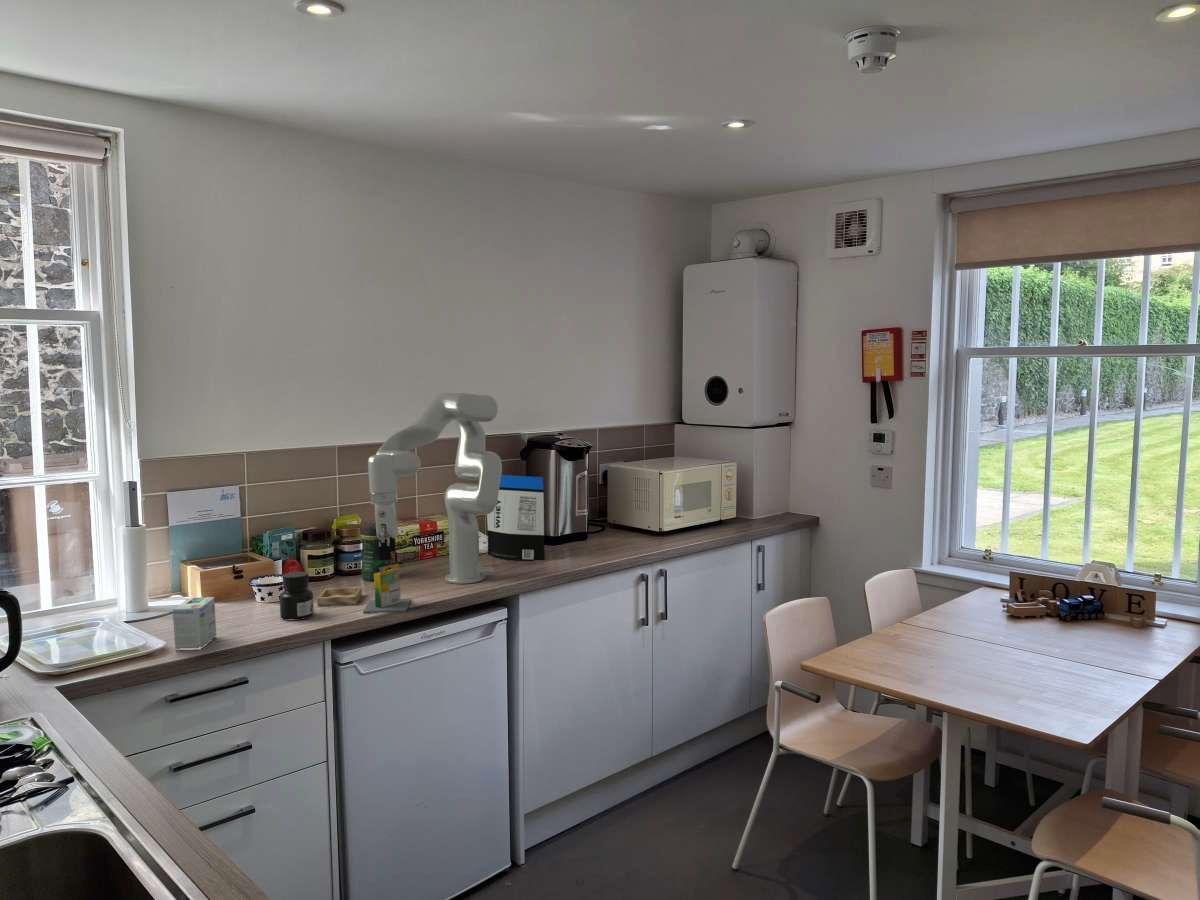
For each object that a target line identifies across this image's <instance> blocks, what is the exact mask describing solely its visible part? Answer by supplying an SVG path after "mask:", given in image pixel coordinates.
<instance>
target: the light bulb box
mask: <svg viewBox="0 0 1200 900" xmlns="http://www.w3.org/2000/svg"><path fill="white" fill-rule="evenodd" d="M172 620H173V635H174V650H175V649H180V648H199V647H203V646H204V645H205V644H207V643H208V642H209V641H210V640H212V639H213V638H214V637H215V636H216V637H217V623H216V622H217V621H216V607H215V597H214V596H207V597H189V598H187V599H186V600H184V601H183V602H182V603H180V604H179V605H178V606H176V607H174V608H173V609H172ZM214 639H215V638H214ZM214 639H213V640H214ZM213 640H212V641H213ZM207 645H208V644H207Z"/></svg>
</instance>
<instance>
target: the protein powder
mask: <svg viewBox="0 0 1200 900" xmlns="http://www.w3.org/2000/svg"><path fill="white" fill-rule="evenodd" d="M544 500H545V499H544V477H543V476H527V475H523V476H522V475H506V474H502V475H501V481H500V487H499V493H498V499H497V504H496V507H495V509H494V510H493V511H492V512H491V513H489V514H486V519H487V555H488V556H491V557H492V556H493V558H495V559H498V558H499V559H500V560H503V559H504V560H505V561H510V560H513V561H514V562H535V561H534V560H542V561H543V560H545V561H546V558H545V557H546V556H545V509H544V507H545V505H544V504H545V501H544ZM499 559H498V560H499Z"/></svg>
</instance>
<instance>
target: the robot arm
mask: <svg viewBox="0 0 1200 900" xmlns="http://www.w3.org/2000/svg"><path fill="white" fill-rule="evenodd" d="M427 404H428V405H427V406H425V408H424V409H423V410H422V411H421V413H420V414H419V416H418V417H417V418H416V419H415V421H414V422H412V423H411V424H408V425H406V426H405V427H403V428H402V429H400V430H399V431H396V432H395V433H393V434H392V435H390V436H389V437H388V438H387V439H386V440H384V442H383V444H382V445H381V446H380V447H379V449H377V452H376V454H373V455H371V456H369V457H368V460H367V468H368V483H369V484H368V485H369V495H370V497H369V499H370V504H371V505H374V516H375V517H374V518H375V522H376V532H377V538H379V558H380V560H390V561H391V560H392V553H394V552H396V538H395V537H396V535H397V534H398V530H399V529H398V521H397V510H396V503H398V488H397V485H398V484H397V478H403V477H404V478H407V477H408V478H409V477H411V476H414V475H416V474H417V473H418V472H419V471H420V469H421V466H422V465H421V464H422V462H421V458H420V456H419V455H418V454H417V453H416V452H414V451H412V450H413V449H416V448H419V447H420V448H421V447H423V446H426V445H428V444H431V443H433V442H435V441H436V440H438V438H439V437H440V436H441V435H442V433H443V432H444V430H445V429H446V427H448V425H449V424H450V422H451V421H454V422H455V426H456V427H457V429H458V434H459V436H458V444H457V449H456V455H455V463H454V472H455V475H456V476H457V477H458V478H459V479H464V480H470V481H478V484H477V483H467V482H456V483H452V484H451V485H449V486H448V487H447V488H446V490H445V492H444V497H443V498H444V505H445V508H446V512H447V521H448V541H449V542H448V545H449V547H448V548H449V549H448V551H449V553H448V554H449V574H447V575H445V579H444V580H445V582H447V583H450V584H459V585H463V584H464V585H467V584H473V583H474V584H475V583H479V582H482V581H483V580H484V579H485V575H486V574H488V575H489V574H492V575H493V574H494V567H490V566H486V567H485V566H481V563H482V562H481V563H480V540H479V539H480V538H479V522H478V521H477V520H478V519H477V518H476V515H487V514H489V513H491V512H492V511H493V510H494V509H495V507H496V504H497V499H498V493H499V487H500V481H501V475H503V473H502V472H503V463H502V459H501V457H500V455H498V454H497V453H496V452H493V451H490V450H488V451H487V450H485V446H486V445H485V443H486V434H485V430H484V429H483V425H482V424H481V423H484V422H485V423H488V422H491V421H493V420H494V419H495V418H496V417H497V415H498V412H499V405H498V403H497V401H496V399H495V398H494V397H493V396H491V395H487V394H486V395H485V394H474V393H467V392H442V393H438V394H436V395H435V396H434V397H433V398H432V399H431V401H429V403H427Z"/></svg>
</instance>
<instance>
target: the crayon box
mask: <svg viewBox="0 0 1200 900" xmlns="http://www.w3.org/2000/svg"><path fill="white" fill-rule="evenodd" d="M389 567H390V568H391V569H390V570H387V571H385V570H386V569H388V568H389ZM400 578H401V577H400V563H395V564H393V565H392V564H391V566H387V567H383V568H380V572H379V573H375V574H374V580H373V583H374V584H373V585H374V587H373V588H374V600H375V606H376V607H379V608H383V607H386V606H389V605H393V604H396V603H400V602H401V599H402V597H401V582H400V581H401V580H400Z"/></svg>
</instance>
